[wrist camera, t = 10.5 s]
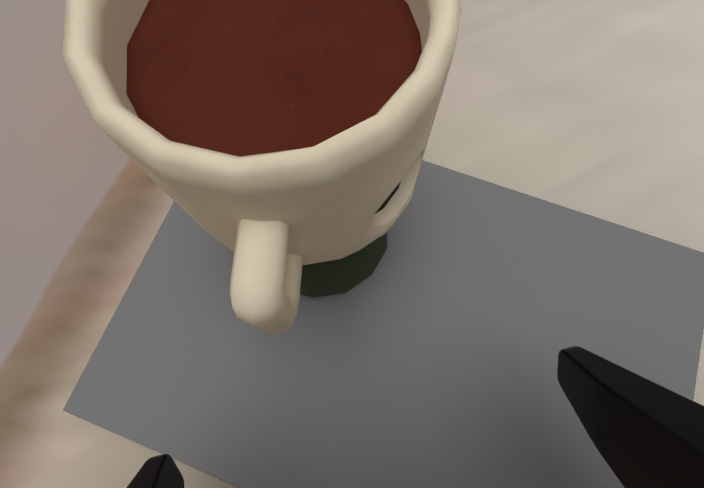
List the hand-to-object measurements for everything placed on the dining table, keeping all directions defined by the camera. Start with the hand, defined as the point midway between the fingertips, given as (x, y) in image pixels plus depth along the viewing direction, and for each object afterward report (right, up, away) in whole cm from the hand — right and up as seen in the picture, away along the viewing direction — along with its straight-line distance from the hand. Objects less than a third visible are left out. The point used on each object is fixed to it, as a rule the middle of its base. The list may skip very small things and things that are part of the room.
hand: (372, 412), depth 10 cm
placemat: (+2, 0, +10) cm, 10 cm away
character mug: (-2, +4, +10) cm, 11 cm away
